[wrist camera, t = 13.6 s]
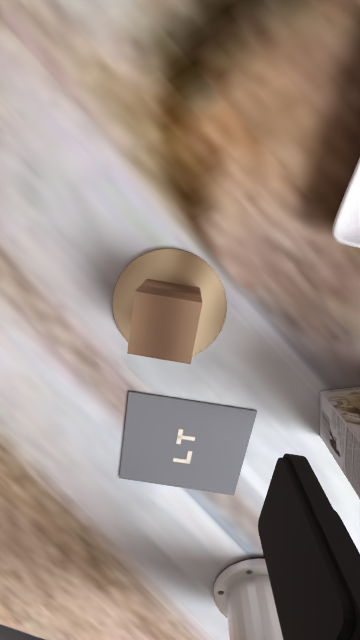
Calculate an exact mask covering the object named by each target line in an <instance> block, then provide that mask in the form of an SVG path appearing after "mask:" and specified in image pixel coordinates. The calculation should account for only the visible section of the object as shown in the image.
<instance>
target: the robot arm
mask: <svg viewBox="0 0 360 640" xmlns="http://www.w3.org/2000/svg"><path fill="white" fill-rule="evenodd" d="M258 530H259V536H260V540H261V545H262V549H263V553H264V558H265V559H259V558H257V559H248V560H244V561H241V562H238V563H236V564H233V565H231V566H230V567H228V568H226V569H225V570H224V571H223V572H222V573H221V574H220V575H219V577H218V578H217V579H216V582H215V585H214V598H215V603H216V606H217V608H218V609H219V611H220V612H221V613H222V614H223V615H224V616H225V617H227V618H228V627H229V637H230V640H360V554H359V552H358V550H357V548H356V546H355V544H354V542H353V540H352V539H351V537H350V535H349V533H348V531H347V529H346V527H345V525H344V524H343V522H342V520H341V518H340V516H339V515H338V513H337V512H336V511H335V510H334V509H333V508H332V506H331V504H330V502H329V500H328V498H327V496H326V494H325V493H324V491H323V489H322V487H321V485H320V483H319V481H318V479H317V477H316V475H315V473H314V472H313V470H312V468H311V466H310V464H309V462H308V460H307V459H306V457H304V456H299V455H293V454H285V455H284V456H283V458H278V460H277V463H276V466H275V470H274V473H273V476H272V479H271V482H270V486H269V489H268V492H267V495H266V498H265V501H264V505H263V508H262V511H261V514H260V517H259V522H258Z"/></svg>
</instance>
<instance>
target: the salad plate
mask: <svg viewBox="0 0 360 640" xmlns="http://www.w3.org/2000/svg"><path fill="white" fill-rule="evenodd" d="M332 236H333V238H334V239H335V240H336V241H337V242H339V243H341V244H345V245H349V246H353V247H358V248H360V158H359V160H358V163H357V165H356V168H355V170H354V173H353V175H352V177H351V180H350V182H349V185H348V187H347V189H346V192H345V194H344V197H343V199H342V202H341V204H340V207H339V210H338V212H337V215H336V218H335V221H334V224H333V228H332Z"/></svg>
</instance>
